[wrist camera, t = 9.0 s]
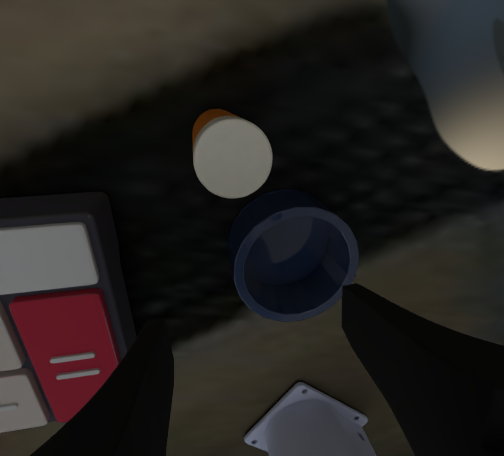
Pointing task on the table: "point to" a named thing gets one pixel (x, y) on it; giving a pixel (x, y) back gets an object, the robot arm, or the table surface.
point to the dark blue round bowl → (290, 255)
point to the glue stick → (230, 154)
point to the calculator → (58, 306)
